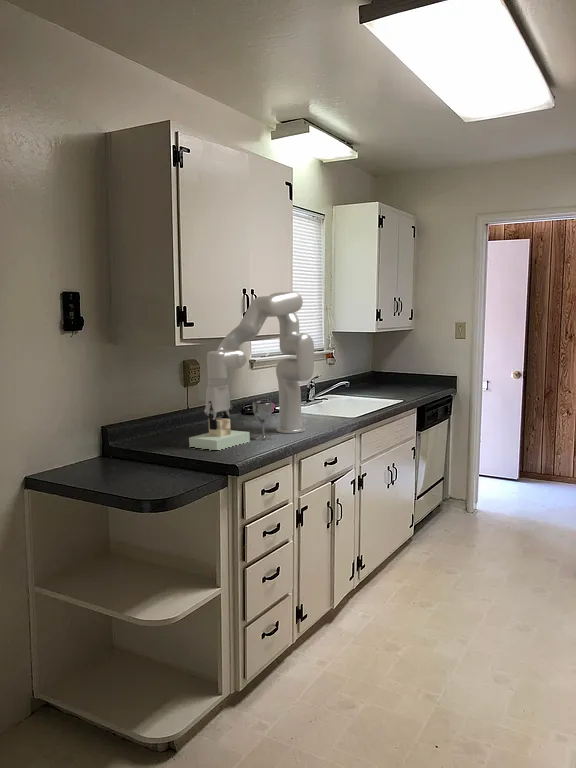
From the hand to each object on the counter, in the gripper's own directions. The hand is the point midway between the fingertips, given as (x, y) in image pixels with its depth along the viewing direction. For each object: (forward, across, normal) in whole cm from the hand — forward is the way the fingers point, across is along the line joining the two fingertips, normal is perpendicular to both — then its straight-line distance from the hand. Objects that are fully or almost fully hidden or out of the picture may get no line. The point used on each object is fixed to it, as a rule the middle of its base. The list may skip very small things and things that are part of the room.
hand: (219, 427), depth 245 cm
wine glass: (+7, -18, +8) cm, 21 cm away
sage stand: (+7, 0, 0) cm, 7 cm away
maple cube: (+3, 0, 0) cm, 3 cm away
